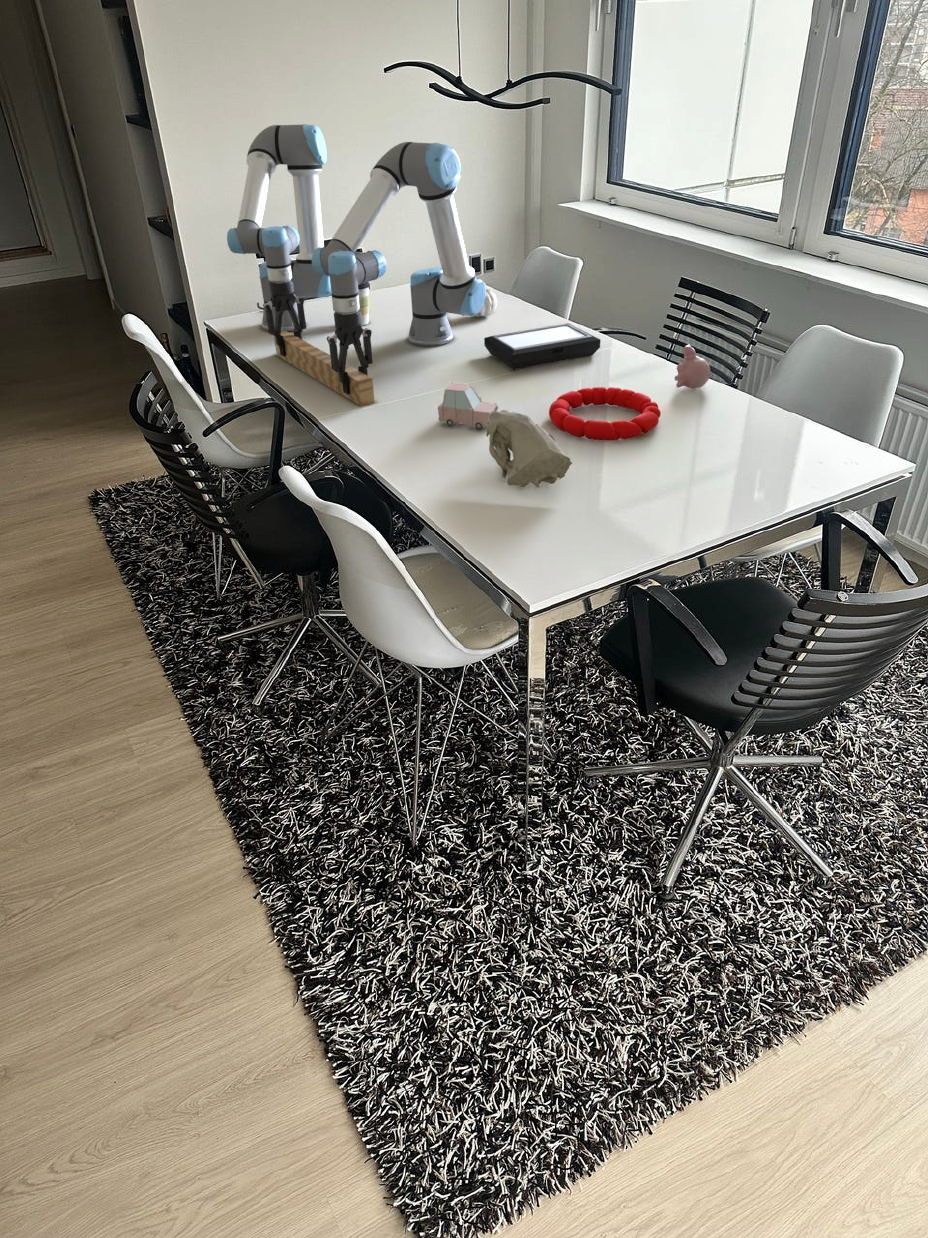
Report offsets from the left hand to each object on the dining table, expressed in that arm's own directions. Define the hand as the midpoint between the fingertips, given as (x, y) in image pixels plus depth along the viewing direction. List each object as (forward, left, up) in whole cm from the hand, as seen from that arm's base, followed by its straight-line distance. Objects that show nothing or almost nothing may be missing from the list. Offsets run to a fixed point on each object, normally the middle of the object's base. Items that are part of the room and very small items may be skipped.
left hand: (290, 353), depth 295 cm
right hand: (+41, +18, 0) cm, 45 cm away
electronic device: (+19, +81, -2) cm, 83 cm away
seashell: (-30, +71, -2) cm, 77 cm away
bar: (+20, +9, -2) cm, 22 cm away
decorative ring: (+77, +83, -2) cm, 114 cm away
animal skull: (+102, +54, -2) cm, 115 cm away
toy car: (+69, +47, -2) cm, 84 cm away
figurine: (+59, +115, -2) cm, 130 cm away
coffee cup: (-34, +26, -2) cm, 43 cm away
